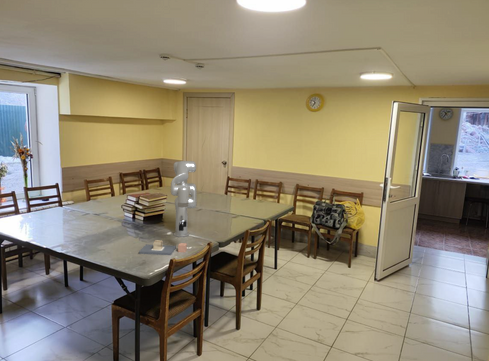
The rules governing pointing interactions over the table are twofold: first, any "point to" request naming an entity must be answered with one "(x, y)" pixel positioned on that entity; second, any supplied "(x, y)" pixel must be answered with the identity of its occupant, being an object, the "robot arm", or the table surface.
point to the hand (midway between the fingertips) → (182, 228)
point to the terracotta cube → (182, 247)
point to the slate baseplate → (164, 251)
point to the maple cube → (157, 245)
